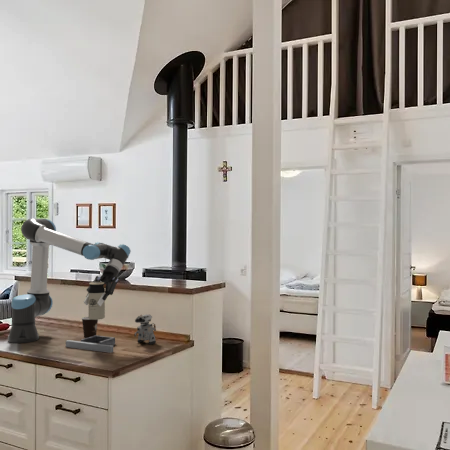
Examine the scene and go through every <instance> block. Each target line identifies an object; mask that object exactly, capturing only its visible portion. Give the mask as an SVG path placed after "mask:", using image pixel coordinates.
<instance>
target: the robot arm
mask: <svg viewBox="0 0 450 450" xmlns="http://www.w3.org/2000/svg"><path fill="white" fill-rule="evenodd" d="M20 229H21V230H20V232H21V234H22V236H23V237H24V238H25V239H27V240H29V244H31V245H32V248H31V253H32V254H31V268H30V269H31V272H30V286H29V287H30V288H29V289H28V290H27V292H26V293H27V294H25V293H24V294H19V295H17V296H16V295H15V296H14V297H13V298H12V300H11V304H10V305H11V326H10V327H11V328H10V332H9V333H8V337H7V342H9V343H13V344H14V343H15V344H25V343H31V342H35V341H38V340H39V338H40V337H39V335H40V334H39V333H38V329H37V326H36V317H40V316H43V315H45V314H47V313H49V311H50V310H52V308H53V298H52V297H51V295H50V290H49V289H48V271H49V270H48V268H49V253H50V249H49V248H50V245H51V246H53V247H57V248H59V249H62V250H65V251H68V252H71V253H73V254H77V255H79V256H82V257H84V258H85V259H86V260H89V261H90V260H91V261H94V260H98V259H105V260H109V261H108V263H107V264H106V266H105V268H104V269H103V272H102V275H100V276H98V275H96V276H95V277H94V279H93V281H92V282H104V285H105V287H104V289H105V291H104V292H105V293H103V294H102V296H101V297H100V299H99V301H98V302H97V304H98V305H99V306H101V305H102V304H103V302H104V300H105V301H106V300H107V298H108V297H109V296H112V295H113V294H114V291H115V289H116V287H117V284H118V282H119V281H120V280H119V278H118V276H119V273H120V271H122V268H123V266H124V265H125V263H126V262H127V260H128V259H129V256H130V254H131V252H132V251H131V248H130V247H129V246H128V245H126V244H124V243H122V244H119V245H117V246H113V245H110V244H107V243H106V244H105V243H104V242H99V241H97V242H95V243H91V242H88V241H85V240H83V239H79V238H76V237H74V236H70V235H69V234H65V233H63V232H59V231H57V228H56V225H55V223H54V222H53V221H51V220H50V219H46V218H29V219H26V220H25V221H24V222H23V223H22V225H21V228H20ZM89 288H90V285H89V286H88V287H87V288H86V292H88V290H89ZM83 304H84V305H85V306H88V293H87V294H86V296H85V299H84V300H83Z"/></svg>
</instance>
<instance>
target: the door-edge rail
mask: <svg viewBox="0 0 450 450" xmlns="http://www.w3.org/2000/svg"><path fill="white" fill-rule="evenodd" d="M65 347H66V348H72V349H80V350H86V351H87V350H88V351H95V352H101V353H109V354H112V353H114V345H104V344H99V343H88V342H81V340H80V341H79V340H72V339H71V340H70V339H67V340H65Z"/></svg>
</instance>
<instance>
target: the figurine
mask: <svg viewBox="0 0 450 450" xmlns="http://www.w3.org/2000/svg"><path fill="white" fill-rule="evenodd" d="M152 318H153V315H151V314H143V315H142V314H140V315H138V316H137V317H136V318H135V319H134V322H135V323H138V324H139V323H140V325H139V326H137V328H136V329H137V330H135V331H136V332H134V337H137V341H136V342H137V343H139V344H140V343H143V342H145V341H148V345H149V346H152V345H155V344H157V343H156V342H157V341H156V336H155V334H154V331H155V332H156V331H157V327H156V324H155V323H154V322H152V323H150V322H151V321H152ZM137 334H138V335H137Z"/></svg>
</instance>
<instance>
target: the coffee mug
mask: <svg viewBox="0 0 450 450" xmlns="http://www.w3.org/2000/svg"><path fill="white" fill-rule="evenodd" d="M98 321H99V319H98V320H92V319H89V318H88V316H85V317H82V318H81V322H82V329H83V338H89V337H92V336H95V335H97V331H98V323H99V322H98Z"/></svg>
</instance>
